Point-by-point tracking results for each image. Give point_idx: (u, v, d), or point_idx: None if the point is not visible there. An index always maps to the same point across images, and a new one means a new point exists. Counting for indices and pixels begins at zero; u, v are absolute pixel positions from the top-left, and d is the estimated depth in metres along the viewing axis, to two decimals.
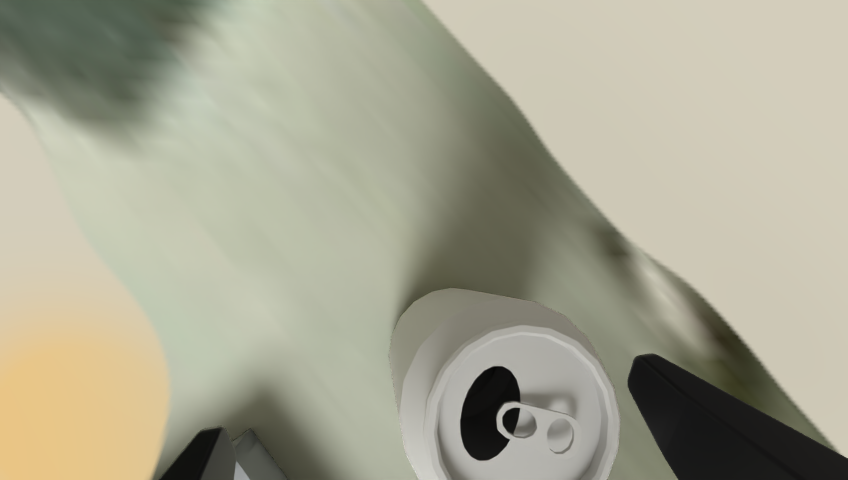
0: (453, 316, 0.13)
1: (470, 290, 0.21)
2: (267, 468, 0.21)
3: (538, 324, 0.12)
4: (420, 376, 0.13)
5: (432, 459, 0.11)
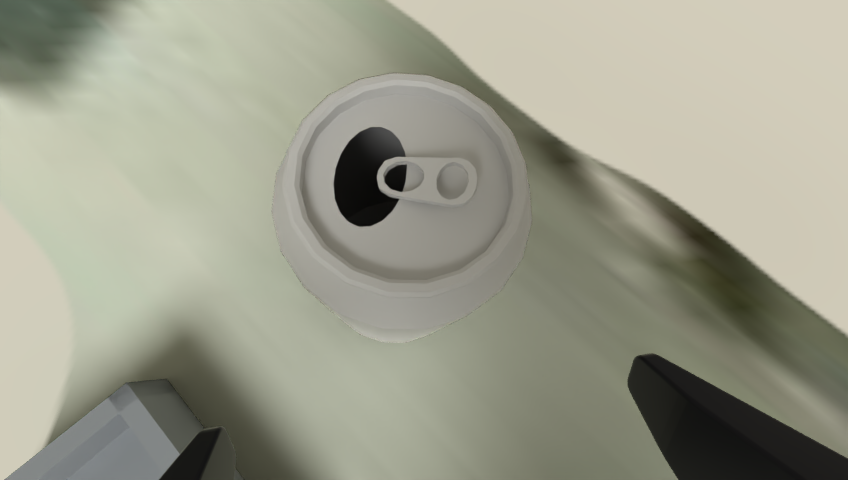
0: None
1: (401, 189, 0.20)
2: (181, 416, 0.17)
3: (414, 74, 0.11)
4: None
5: (293, 212, 0.09)
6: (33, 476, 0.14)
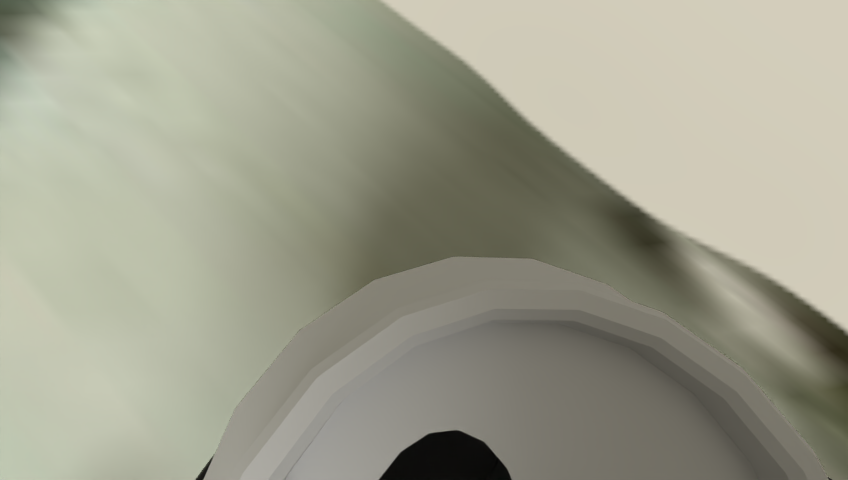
0: (326, 314, 0.05)
1: None
2: None
3: (541, 283, 0.04)
4: None
5: None
6: None
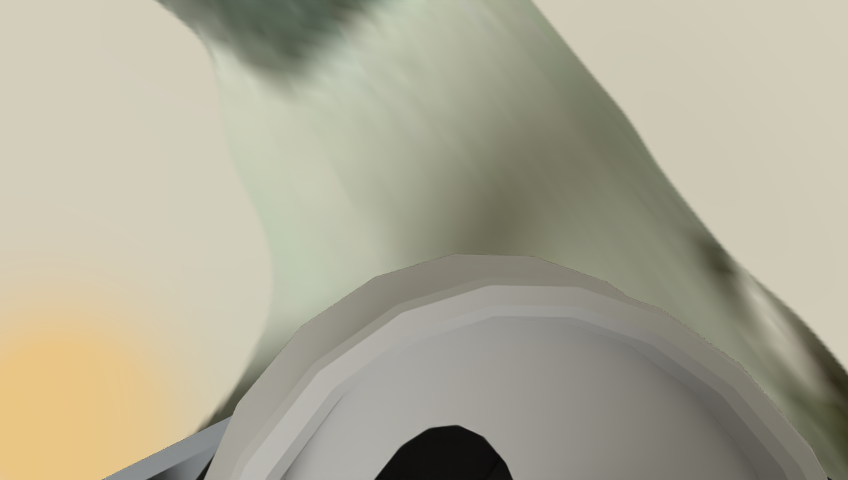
0: (328, 311, 0.05)
1: None
2: None
3: (540, 280, 0.04)
4: None
5: None
6: None
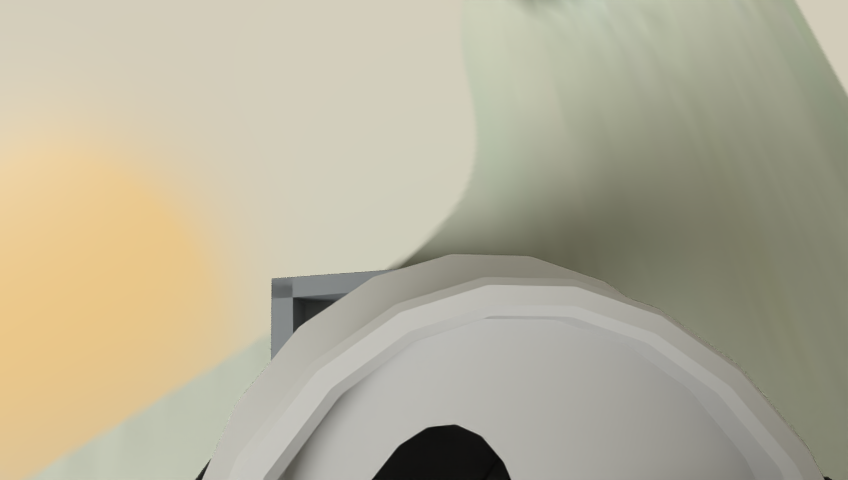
0: (326, 310, 0.05)
1: None
2: None
3: (538, 280, 0.04)
4: None
5: None
6: None
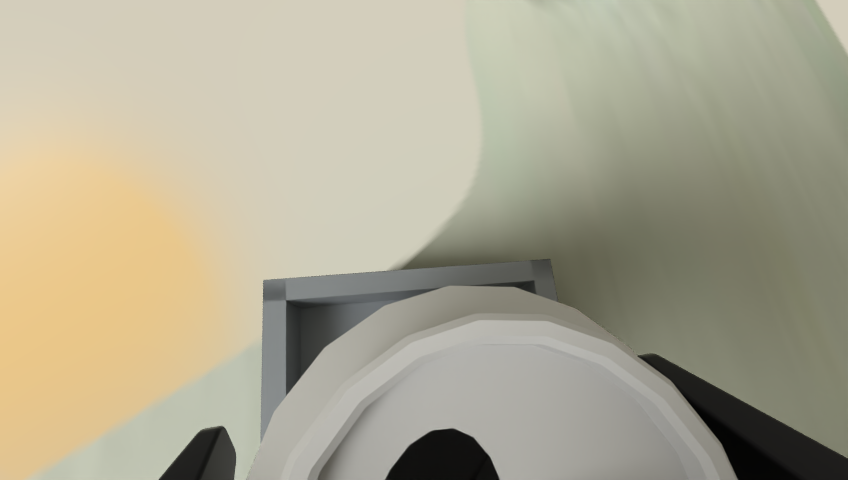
0: (346, 335, 0.06)
1: None
2: None
3: (518, 315, 0.05)
4: None
5: None
6: (451, 282, 0.15)
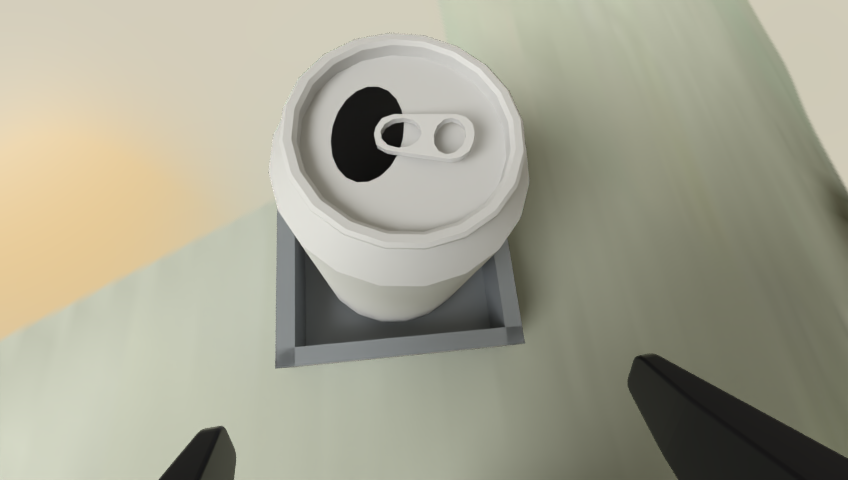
0: None
1: None
2: None
3: (410, 34, 0.11)
4: None
5: (290, 164, 0.09)
6: None
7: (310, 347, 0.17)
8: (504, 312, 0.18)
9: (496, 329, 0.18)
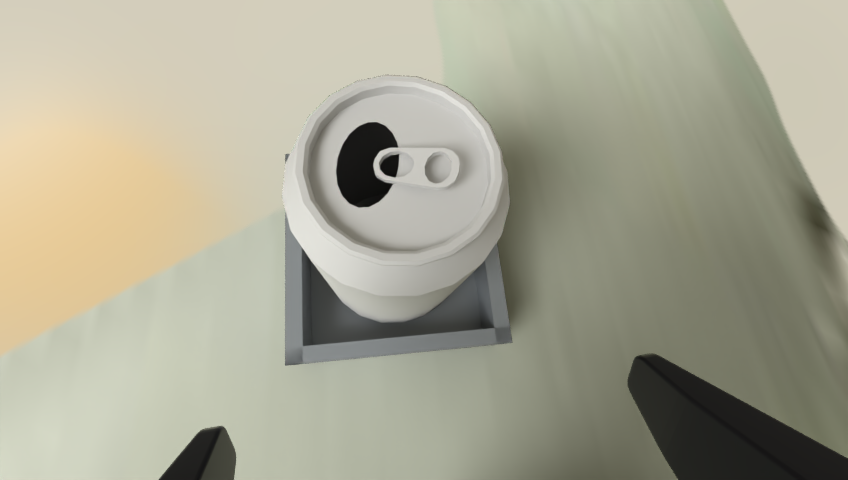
0: None
1: None
2: None
3: None
4: None
5: (302, 194, 0.11)
6: None
7: (316, 346, 0.19)
8: (493, 314, 0.20)
9: (486, 330, 0.20)
